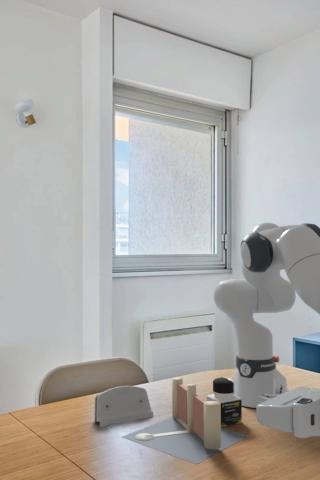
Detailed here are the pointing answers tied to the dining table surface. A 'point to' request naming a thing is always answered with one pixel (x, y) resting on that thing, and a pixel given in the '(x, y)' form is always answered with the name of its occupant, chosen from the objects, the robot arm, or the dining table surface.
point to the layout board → (181, 440)
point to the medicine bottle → (227, 401)
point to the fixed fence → (183, 402)
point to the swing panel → (207, 421)
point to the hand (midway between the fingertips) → (259, 398)
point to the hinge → (122, 405)
